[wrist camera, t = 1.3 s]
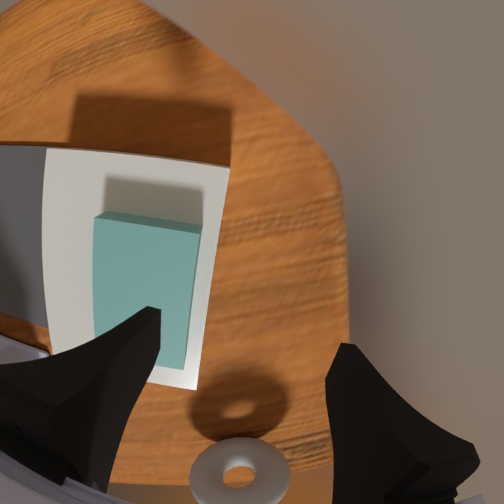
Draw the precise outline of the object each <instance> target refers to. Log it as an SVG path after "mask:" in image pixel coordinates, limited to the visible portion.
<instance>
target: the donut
mask: <svg viewBox="0 0 504 504" xmlns="http://www.w3.org/2000/svg"><path fill="white" fill-rule="evenodd" d="M236 466H248V467H251V468H252V469H254V471H255V473H256V477H255V479H254V480H253V481H252V482H251V483H250V484H249V485H247V486H245V487H241V488H232V487H229V486H227V485H225V484H224V482H223V476H224V474H225V472H227V471H228V470H229V469H231V468H233V467H236ZM189 480H190V488H191V491H192V493H193V495H194V496H195V498H196V500H197V501H198V503H200V504H277V503H278V502H279V501H280V500H281V498H283V496H284V495H285V492H286V490H287V488H288V486H289V482H290V468H289V466H288V463H287V461H286V459H285V457H284V455H283V454H282V453H281V452H280V451H279V450H278V449H277V448H276V447H275V446H273V445H271V444H269V443H267V442H265V441H263V440H260V439H255V438H251V437H234V438H229V439H225V440H221V441H219V442H217V443H215V444H213V445H210V446H209V447H208V448H206V449H205V450H204V451H203V452H201V453H200V454H199V456H198V457H197V459H196V460H195V461H194V463H193V465H192V468H191V472H190V475H189Z"/></svg>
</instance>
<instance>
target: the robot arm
mask: <svg viewBox="0 0 504 504" xmlns="http://www.w3.org/2000/svg"><path fill="white" fill-rule="evenodd" d="M160 349H161V309H158V308H154V307H150V306H146V307H144V308H143V309H141V310H140V311H138V312H137V313H135V314H134V315H132V316H131V317H129V318H128V319H126V320H125V321H123V322H122V323H120V324H118V325H117V326H115V327H114V328H112V329H111V330H109V331H107V332H105V333H103V334H102V335H100V336H98V337H96V338H94V339H93V340H91V341H88V342H86V343H84V344H82V345H80V346H77V347H75V348H72V349H70V350H67V351H64V352H61V353H58V354H55V355H52V356H49V354H48V353H47V352H46V351H43V350H40V349H37V348H35V347H32V346H29V345H26V344H23V343H20V342H18V341H15V340H12V339H10V338H7V337H5V336H2V335H0V504H133V503H130V502H127V501H124V500H121V499H119V498H116V497H113V496H111V495H108V494H106V492H107V487H108V483H109V479H110V475H111V471H112V468H113V464H114V460H115V457H116V453H117V450H118V447H119V444H120V441H121V438H122V435H123V432H124V429H125V426H126V423H127V421H128V418H129V416H130V413H131V411H132V409H133V407H134V405H135V403H136V401H137V399H138V397H139V395H140V393H141V391H142V389H143V388H144V386H145V384H146V382H147V380H148V378H149V376H150V374H151V372H152V370H153V368H154V365H155V363H156V360H157V357H158V354H159V351H160ZM325 391H326V404H327V411H328V417H329V423H330V430H331V436H332V443H333V454H334V479H333V480H334V481H333V500H332V504H455V502H454V498H455V497H456V496H457V494H458V493H457V490H456V487H457V486H459V485H460V484H461V483H462V482H464V481H465V480H466V479H467V478H468V477H470V476H471V475H472V473H474V472H475V471H476V469H477V468H478V466H479V464H480V459H479V457H478V454H477V452H476V449H475V447H474V445H473V444H472V443H470V442H467V441H465V440H463V439H461V438H459V437H457V436H454V435H453V434H451V433H449V432H447V431H445V430H444V429H442V428H440V427H439V426H437V425H436V424H434V423H432V422H431V421H430V420H428V419H427V418H426V417H424V416H423V415H421V414H420V413H419V412H418V411H416V410H415V409H414V408H413V407H412V406H411V405H409V404H408V403H407V402H406V401H405V400H404V399H403V398H402V397H401V396H400V395H399V394H398V393H397V392H396V391H395V390H394V389H393V388H392V387H391V386H390V385H389V384H388V383H387V382H386V381H385V379H384V378H383V377H382V376H381V375H380V374H379V373H378V371H377V370H376V369H375V368H374V366H373V365H372V364H371V363H370V362H369V360H368V359H367V358H366V357H365V356H364V354H363V353H362V352H361V351H360V349H359V348H358V347H357V346H356V345H355V344H348V343H341V344H340V347H339V349H338V351H337V354H336V356H335V358H334V360H333V363H332V365H331V367H330V369H329V372H328V374H327V376H326V378H325ZM456 504H485V502H484V499H483V496H482V494H479V495H476V496H473V497H471V498H467V499H464V500H462V501H460V502H457V503H456Z"/></svg>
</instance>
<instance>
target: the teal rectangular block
mask: <svg viewBox="0 0 504 504" xmlns="http://www.w3.org/2000/svg"><path fill="white" fill-rule="evenodd" d="M202 228H203V226H202V225H196V224H190V223H183V222H177V221H170V220H164V219H158V218H151V217H144V216H138V215H131V214H125V213H118V212H111V211H106V212H104V213H102V214H100V215H98V216H96V217H94V228H93V256H92V289H93V317H94V333H95V338H96V337H98V336H100V335H102V334H103V333H105V332H107V331H109V330H111V329H112V328H114V327H115V326H117V325H118V324H120V323H122V322H123V321H125V320H126V319H128V318H129V317H131V316H132V315H134V314H135V313H137V312H138V311H140V310H141V309H143V308H144V307H146V306H150V307H154V308H158V309H161V349H160V351H159V354H158V357H157V360H156V363H155V365H156V366H162V367H167V368H173V369H179V370H184V364H185V359H186V353H187V344H188V335H189V326H190V317H191V309H192V301H193V293H194V285H195V277H196V270H197V263H198V255H199V249H200V242H201V235H202Z"/></svg>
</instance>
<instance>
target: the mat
mask: <svg viewBox="0 0 504 504" xmlns="http://www.w3.org/2000/svg"><path fill="white" fill-rule="evenodd" d="M47 148H68V147H49V146H16V145H0V313H3V314H6V315H9V316H12V317H15V318H18V319H21V320H24V321H27V322H30V323H33V324H36V325H39V326H42V327H46V328H49V326H48V319H47V311H46V302H45V292H44V279H43V262H42V200H43V183H44V171H45V160H46V152H47Z"/></svg>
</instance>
